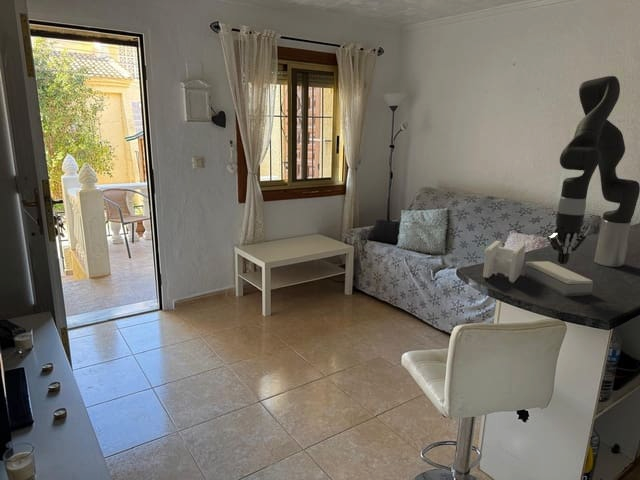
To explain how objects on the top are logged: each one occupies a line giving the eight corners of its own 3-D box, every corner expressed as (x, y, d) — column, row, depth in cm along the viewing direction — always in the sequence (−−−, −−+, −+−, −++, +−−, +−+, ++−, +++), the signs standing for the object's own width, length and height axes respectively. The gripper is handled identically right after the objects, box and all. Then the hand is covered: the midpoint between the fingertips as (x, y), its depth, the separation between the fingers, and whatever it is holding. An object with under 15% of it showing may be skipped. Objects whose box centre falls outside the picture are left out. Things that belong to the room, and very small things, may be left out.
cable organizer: (512, 286, 151) (517, 253, 148) (480, 279, 157) (484, 247, 154) (522, 274, 163) (526, 243, 160) (492, 268, 169) (496, 238, 165)
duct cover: (548, 263, 163) (549, 260, 162) (592, 283, 144) (592, 279, 144) (525, 263, 161) (526, 261, 160) (567, 283, 142) (567, 280, 142)
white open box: (547, 273, 164) (549, 263, 163) (591, 294, 145) (593, 283, 144) (523, 275, 162) (525, 264, 161) (564, 296, 143) (566, 284, 142)
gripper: (579, 208, 147) (570, 258, 152) (544, 209, 144) (536, 261, 149) (598, 213, 140) (588, 265, 144) (561, 214, 137) (553, 268, 142)
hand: (562, 263), depth 147 cm, fingers closed
